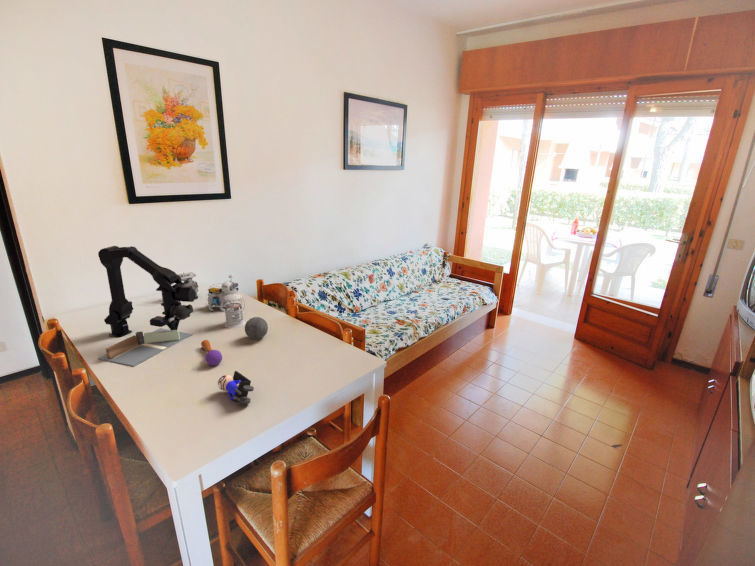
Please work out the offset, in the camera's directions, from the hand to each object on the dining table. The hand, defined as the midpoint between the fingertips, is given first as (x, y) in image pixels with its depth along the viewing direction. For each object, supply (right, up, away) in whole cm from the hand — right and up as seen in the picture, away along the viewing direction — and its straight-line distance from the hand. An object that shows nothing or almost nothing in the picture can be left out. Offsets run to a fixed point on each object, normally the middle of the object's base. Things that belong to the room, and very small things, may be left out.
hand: (174, 333), depth 164 cm
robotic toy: (+7, +9, +36) cm, 38 cm away
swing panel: (-3, -3, -5) cm, 6 cm away
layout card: (-7, -4, -8) cm, 11 cm away
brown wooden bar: (-12, -5, -13) cm, 19 cm away
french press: (+21, +2, +18) cm, 27 cm away
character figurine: (+43, -16, -40) cm, 61 cm away
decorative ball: (+36, -3, +3) cm, 36 cm away
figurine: (-19, +13, +48) cm, 53 cm away
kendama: (+23, -8, -14) cm, 28 cm away
